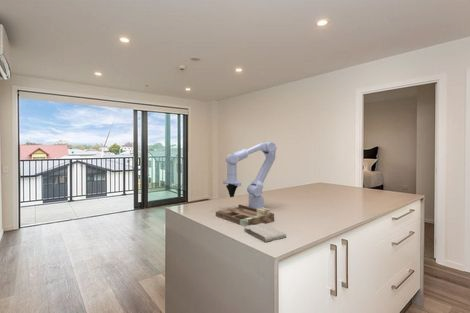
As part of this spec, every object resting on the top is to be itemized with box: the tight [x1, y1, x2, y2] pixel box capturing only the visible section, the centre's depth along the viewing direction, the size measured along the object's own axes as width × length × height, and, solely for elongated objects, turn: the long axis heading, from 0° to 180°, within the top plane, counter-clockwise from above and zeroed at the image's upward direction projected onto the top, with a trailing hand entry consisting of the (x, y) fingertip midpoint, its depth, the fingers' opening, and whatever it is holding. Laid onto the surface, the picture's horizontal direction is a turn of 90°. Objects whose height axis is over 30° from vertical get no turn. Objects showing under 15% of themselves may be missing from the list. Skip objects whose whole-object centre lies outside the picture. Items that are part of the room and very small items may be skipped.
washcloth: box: [243, 223, 287, 243], centre depth 112 cm, size 12×18×3 cm, turn 30°
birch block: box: [257, 207, 271, 217], centre depth 131 cm, size 5×5×4 cm
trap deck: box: [215, 204, 275, 227], centre depth 136 cm, size 18×28×4 cm, turn 40°
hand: (231, 196), depth 149 cm, fingers closed
